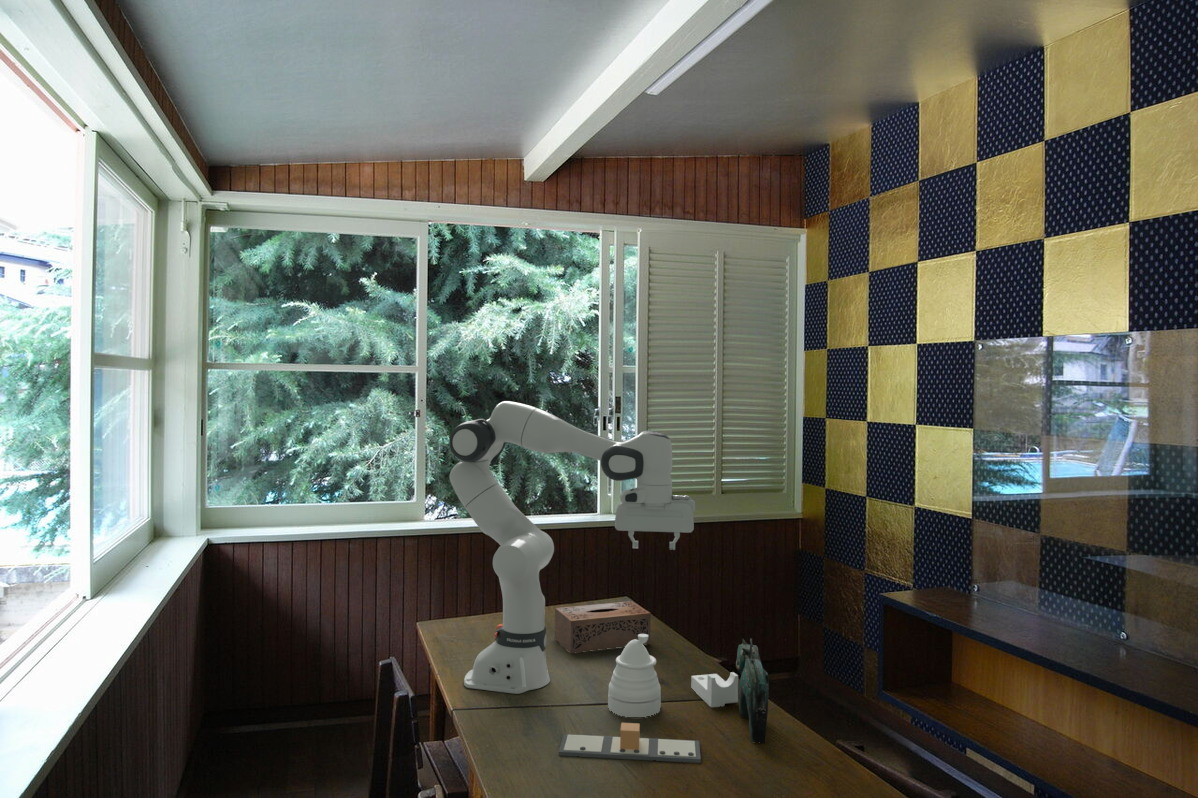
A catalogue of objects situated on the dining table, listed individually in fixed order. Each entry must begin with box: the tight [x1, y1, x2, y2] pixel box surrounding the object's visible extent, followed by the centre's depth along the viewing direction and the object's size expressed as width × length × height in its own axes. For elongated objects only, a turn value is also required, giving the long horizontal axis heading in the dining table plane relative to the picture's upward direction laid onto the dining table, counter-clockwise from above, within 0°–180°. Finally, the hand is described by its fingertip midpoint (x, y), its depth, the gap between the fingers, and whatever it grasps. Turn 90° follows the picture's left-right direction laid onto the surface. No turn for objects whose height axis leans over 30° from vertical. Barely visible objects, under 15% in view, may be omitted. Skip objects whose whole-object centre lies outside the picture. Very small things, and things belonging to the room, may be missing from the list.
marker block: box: [619, 722, 641, 750], centre depth 178 cm, size 4×4×4 cm
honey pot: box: [607, 634, 662, 718], centre depth 201 cm, size 13×13×18 cm
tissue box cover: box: [554, 600, 652, 654], centre depth 252 cm, size 26×14×10 cm, turn 112°
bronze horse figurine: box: [735, 637, 770, 744], centre depth 191 cm, size 20×6×20 cm, turn 178°
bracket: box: [690, 671, 739, 708], centre depth 209 cm, size 13×7×8 cm, turn 16°
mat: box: [558, 733, 702, 764], centre depth 178 cm, size 30×9×1 cm, turn 85°
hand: (653, 548), depth 210 cm, fingers open, 8 cm apart
